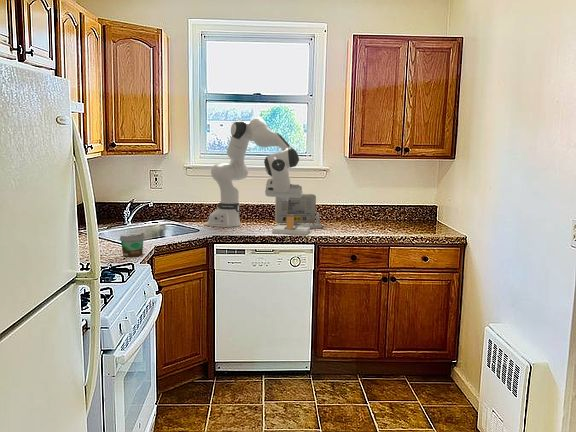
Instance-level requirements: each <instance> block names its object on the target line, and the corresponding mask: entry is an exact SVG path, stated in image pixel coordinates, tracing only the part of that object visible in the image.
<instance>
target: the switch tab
mask: <svg viewBox="0 0 576 432" xmlns="http://www.w3.org/2000/svg"><path fill="white" fill-rule="evenodd" d="M286 224H287V225H286V226H287V229H293V228H294V214H287V223H286Z"/></svg>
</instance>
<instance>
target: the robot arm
mask: <svg viewBox="0 0 576 432" xmlns="http://www.w3.org/2000/svg"><path fill="white" fill-rule="evenodd" d="M230 134H231V138H230V139H229V143H228V147H227V149H226V154H227V157H228V158H229V159H230V162H224V163H222V162H221V163H216V164H214V165H213V166H212V168H211V171H210V175H211V177H212V179H213V180H214V181H216V183H217V184H218V187H219V191H220V202H219V203H217V209H215V210H214V211H213V212H211V213H210V214H209V215H208V221H205V222H204V225H205V226H208V227H219V228H230V227H232V228H233V227H238V226H241V220H240V203H239V198H240V197H239V190H238V188H236V187H235V186H234V184H233V181H241V180H244V179H246V178H247V177H248V174H249V169H248V166H247V165H246V163H245V156H246V152H247V150H248V145H249V143H250V142H254V143H255V145H257V146H258V147H260V148H269V147H278V148H280V149H281V151H279V152H275V153H273V154H269V155H267V156H265V158H264V161H263V162H264V167H265V168H264V169H265V171H266V174H268V175H269V176H270V177H271V178H268V179H267V180H266V184H265V191H264V192H265V196H266V197H270V198H276V197H280V198H281V199H282V201H288V199H289V197H290V198H301V197H302V194H304V193H303V188H302V187H303V186H302V185H299V184H293V183H291V180H290V175H289V174H290V173H289V170H288V169H291V168H294V167H296V166H297V165H299V164H298V163H299V161H300V157H299V154H298V152H297V151H296V150H295V149H294V148H293V147H292V146H291V145H290V144H289V143H288V142H287V140H285V138H284V137H283V136H282V135H281V134H280V133H279V132H275V131H273V130H271V129H270V127H269V126H268V124H267V123H266V122H265V120H264V119H263V118H261V117H253V118H252V119H251V120H249V121H243V120H237V121H234V122H233V123H232V124H231V127H230Z"/></svg>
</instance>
